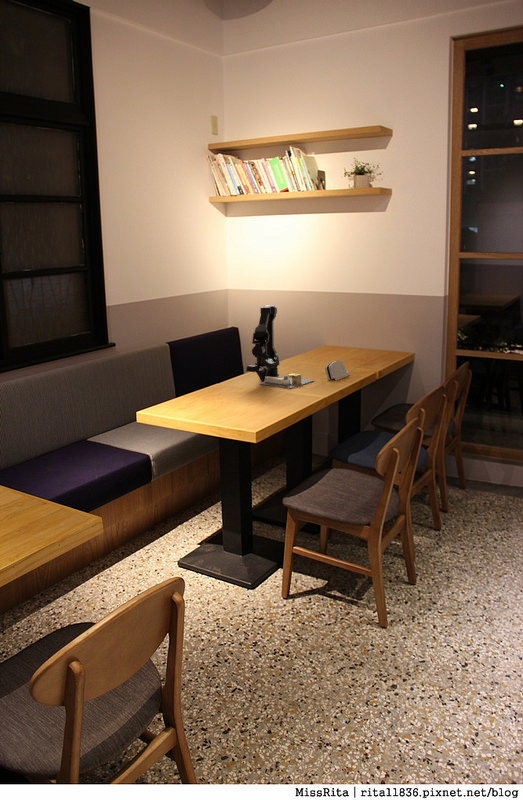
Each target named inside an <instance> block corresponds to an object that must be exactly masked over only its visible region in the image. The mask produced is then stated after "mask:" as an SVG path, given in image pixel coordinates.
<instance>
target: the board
mask: <svg viewBox="0 0 523 800" xmlns="http://www.w3.org/2000/svg"><path fill="white" fill-rule="evenodd" d="M284 376H285V375H283V376H281V377H279V378H284ZM288 379H290V384H289V385H282V384H277V383H270V382H260V383H259V385H260V386H267V387H276V388H281V389H288V388H289V389H288V390H293V389H296V388H298V386H299V387H301V386H304V385H307V384H310V383H313V382H314V383H315V380H314V379H306V378H301V383H300V384H292V378H288ZM295 387H296V388H295Z"/></svg>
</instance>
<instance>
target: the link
mask: <svg viewBox="0 0 523 800" xmlns="http://www.w3.org/2000/svg"><path fill="white" fill-rule="evenodd" d="M283 376H284V378H280V377H277V376H274V377H269V376H266V377H265V380H264V382H270V383H277V384H282V385H289V384H290V379H288V375H283Z"/></svg>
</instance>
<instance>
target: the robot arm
mask: <svg viewBox="0 0 523 800" xmlns="http://www.w3.org/2000/svg"><path fill="white" fill-rule="evenodd" d="M259 314H260V317H259V321H258V325H257V326H256V327H255V329H254V332H253V333H252V345H254V346H253V347H252V350H251V354H252V355H253V357H254V358H256V362H255V363H254V364H251V365H247V366H246V367H245V368H246V372H250V373H256V374H257V376H258V377H259V379H260V381H261V382H260V383H263V382H264V380H265V377H267V376H269V377H278V376H279V375H280V374H278V371H279V370H278V369H279V368H278V366H280V357H279V356H278V354H277V350H276V349H275V342H274V321H275V319H276V318H277V314H278V307H276V306H275V305H263V306H262V307H260V313H259Z"/></svg>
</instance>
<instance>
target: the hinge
mask: <svg viewBox="0 0 523 800" xmlns="http://www.w3.org/2000/svg"><path fill="white" fill-rule="evenodd" d="M324 370H325V374H326V377H327V381H330V380H333V379H334V380H335V381H339V380H341V379H343V378H346V377H348V376H350V373H349V371H348V370H347V368H346V367H345V364H344V362H343V360H335V361H331V362H330V363H328V364H327V365H326V366H325V368H324Z"/></svg>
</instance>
